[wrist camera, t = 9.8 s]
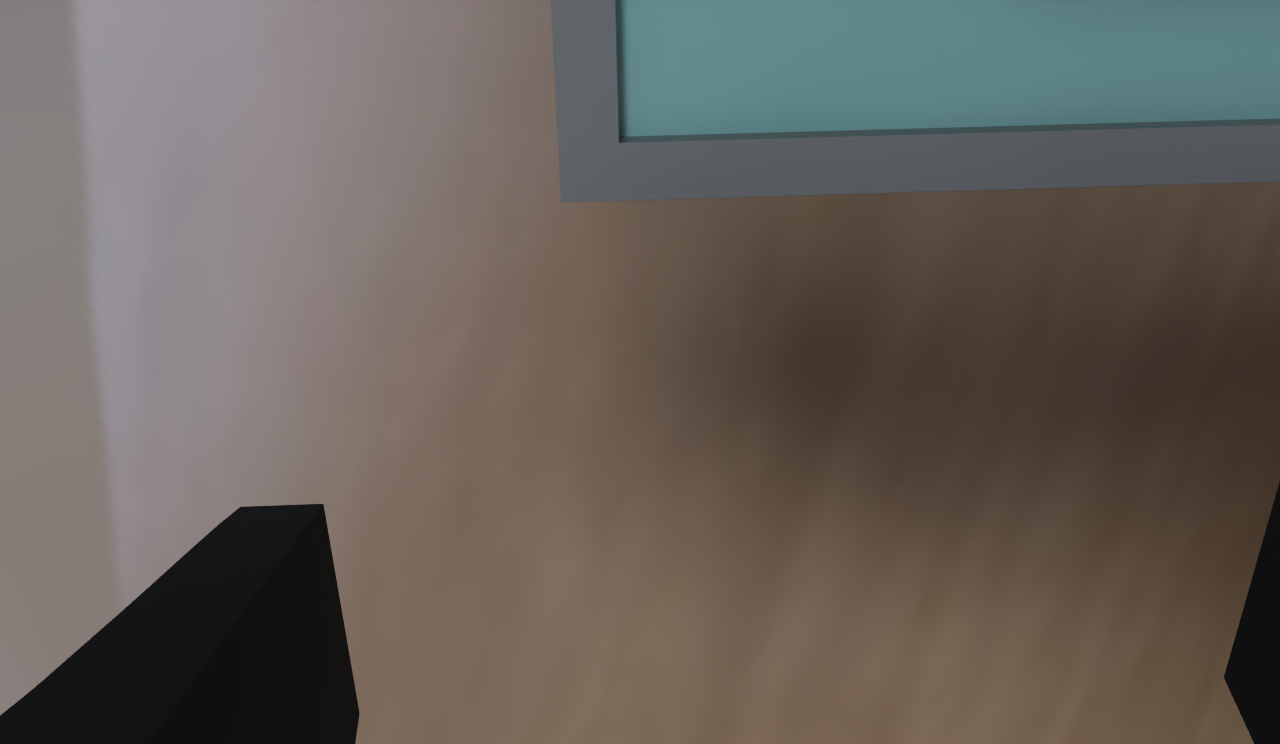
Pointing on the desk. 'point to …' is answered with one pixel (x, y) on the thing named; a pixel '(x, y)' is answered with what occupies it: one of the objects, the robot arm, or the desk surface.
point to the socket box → (911, 95)
